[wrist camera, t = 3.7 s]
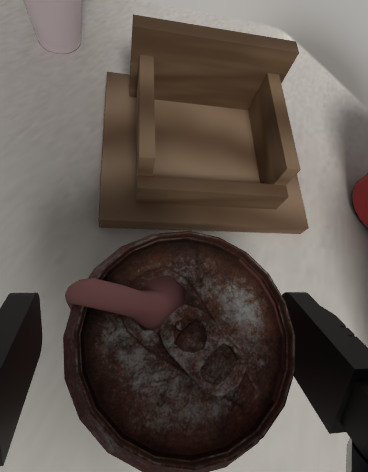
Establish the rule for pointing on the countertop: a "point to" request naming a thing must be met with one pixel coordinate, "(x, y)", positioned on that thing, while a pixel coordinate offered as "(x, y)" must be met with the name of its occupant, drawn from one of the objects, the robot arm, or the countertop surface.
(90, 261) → the countertop surface
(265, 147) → the dock
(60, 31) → the smoothie
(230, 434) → the can
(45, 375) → the countertop surface
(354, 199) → the beer can
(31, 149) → the countertop surface
